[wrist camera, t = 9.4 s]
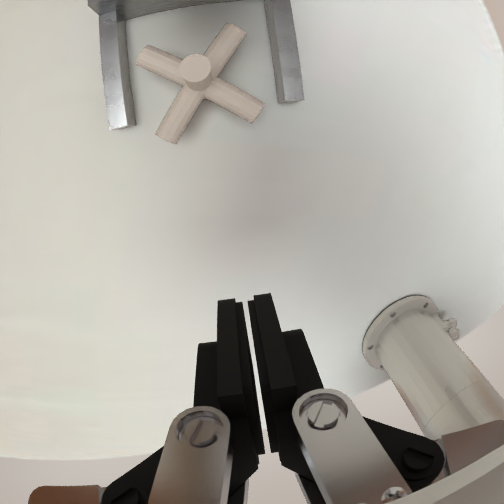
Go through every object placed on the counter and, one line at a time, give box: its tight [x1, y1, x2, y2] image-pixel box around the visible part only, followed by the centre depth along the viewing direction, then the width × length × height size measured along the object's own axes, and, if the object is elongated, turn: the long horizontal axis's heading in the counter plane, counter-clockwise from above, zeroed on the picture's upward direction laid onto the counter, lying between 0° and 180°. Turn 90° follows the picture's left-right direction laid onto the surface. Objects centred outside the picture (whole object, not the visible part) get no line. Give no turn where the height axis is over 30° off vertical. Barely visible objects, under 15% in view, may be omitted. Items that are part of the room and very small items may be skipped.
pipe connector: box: [136, 23, 264, 144], centre depth 19 cm, size 10×10×10 cm
